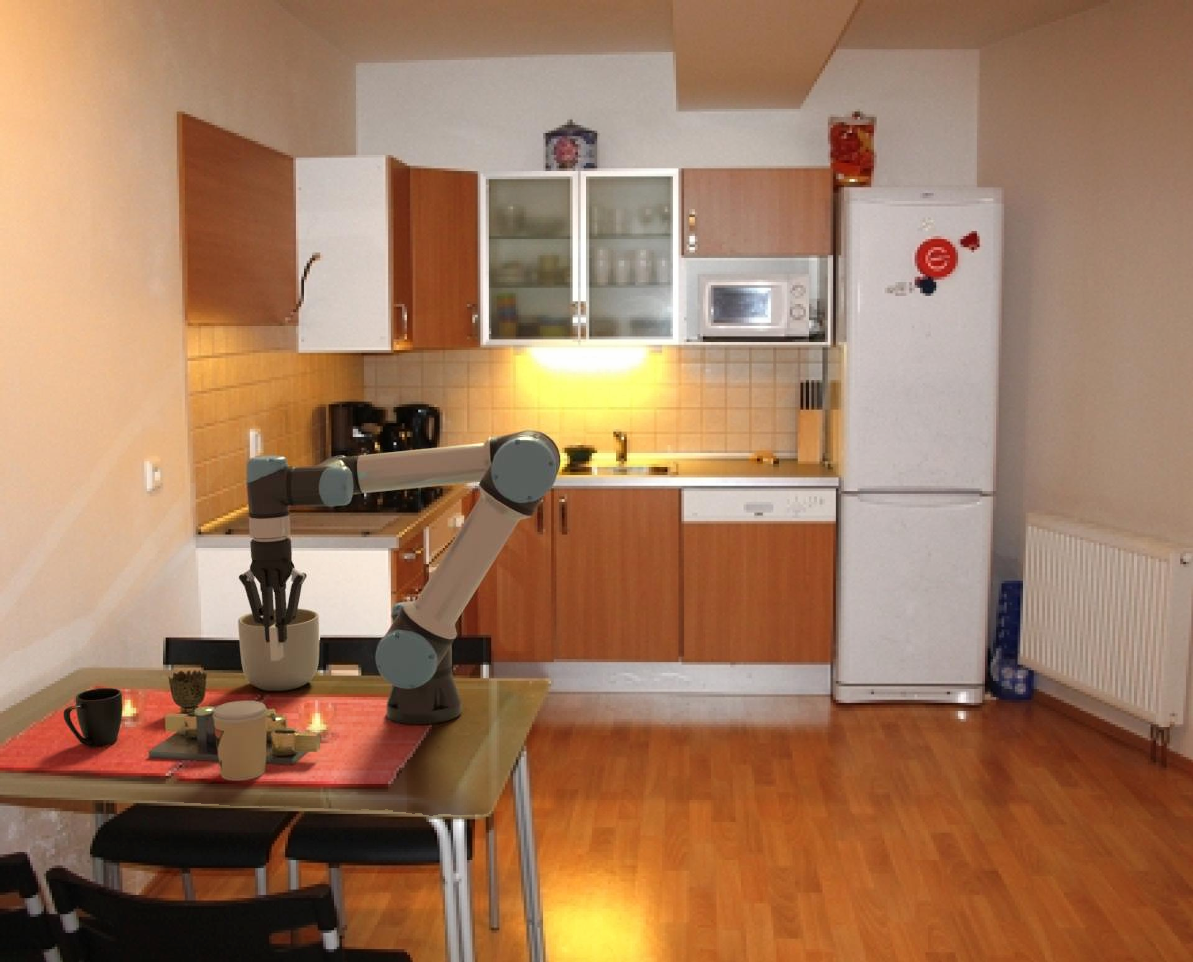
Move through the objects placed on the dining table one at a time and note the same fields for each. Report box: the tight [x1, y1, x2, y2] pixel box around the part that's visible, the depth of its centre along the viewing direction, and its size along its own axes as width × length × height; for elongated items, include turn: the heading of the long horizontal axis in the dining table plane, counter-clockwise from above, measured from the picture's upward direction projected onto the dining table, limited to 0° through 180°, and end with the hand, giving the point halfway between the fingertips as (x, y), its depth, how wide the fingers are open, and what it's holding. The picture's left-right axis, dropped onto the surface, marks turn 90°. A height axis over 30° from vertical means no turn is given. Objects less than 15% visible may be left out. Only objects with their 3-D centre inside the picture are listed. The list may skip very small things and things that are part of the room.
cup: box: [168, 669, 208, 714], centre depth 268 cm, size 8×7×8 cm
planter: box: [237, 608, 320, 692], centre depth 286 cm, size 17×17×15 cm
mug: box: [63, 687, 123, 748], centre depth 249 cm, size 8×12×10 cm
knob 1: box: [164, 712, 197, 738], centre depth 251 cm, size 9×5×4 cm, turn 80°
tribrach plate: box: [148, 705, 322, 766], centre depth 246 cm, size 28×14×8 cm, turn 80°
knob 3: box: [271, 727, 321, 755], centre depth 240 cm, size 9×5×4 cm, turn 80°
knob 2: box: [266, 708, 288, 740], centre depth 251 cm, size 9×5×4 cm, turn 20°
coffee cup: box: [213, 700, 268, 782], centre depth 233 cm, size 9×9×12 cm
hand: (277, 658), depth 252 cm, fingers closed
